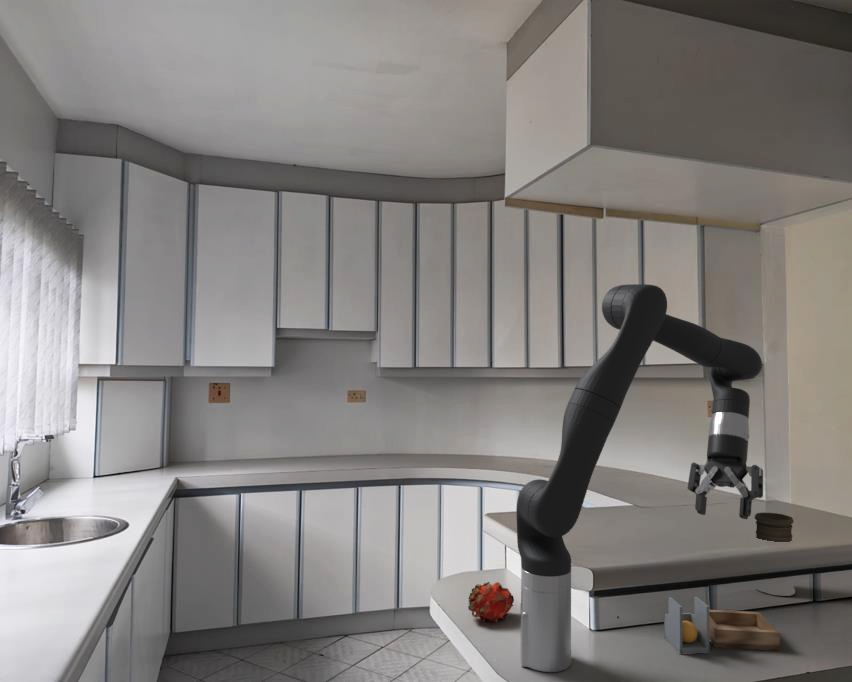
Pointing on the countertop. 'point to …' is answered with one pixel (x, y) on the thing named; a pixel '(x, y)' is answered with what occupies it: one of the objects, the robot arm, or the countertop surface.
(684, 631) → the ball
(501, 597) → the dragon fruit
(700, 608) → the holder
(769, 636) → the tray
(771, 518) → the container
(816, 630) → the countertop surface
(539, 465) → the countertop surface
